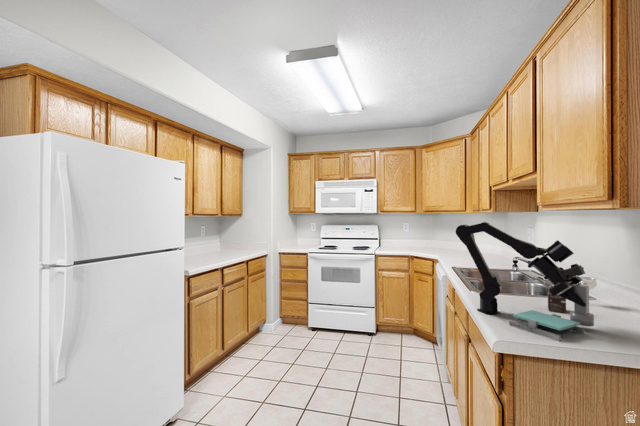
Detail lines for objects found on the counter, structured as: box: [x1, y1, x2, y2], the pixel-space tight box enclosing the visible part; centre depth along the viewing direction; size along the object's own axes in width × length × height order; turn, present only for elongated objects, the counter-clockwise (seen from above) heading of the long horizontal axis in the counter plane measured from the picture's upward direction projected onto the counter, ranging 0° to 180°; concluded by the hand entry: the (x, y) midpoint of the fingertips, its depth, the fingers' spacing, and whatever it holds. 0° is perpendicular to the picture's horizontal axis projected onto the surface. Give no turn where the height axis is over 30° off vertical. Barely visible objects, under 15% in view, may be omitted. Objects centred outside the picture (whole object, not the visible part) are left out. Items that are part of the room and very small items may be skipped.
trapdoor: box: [512, 309, 581, 331], centre depth 113 cm, size 16×12×2 cm
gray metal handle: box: [569, 284, 595, 327], centre depth 113 cm, size 7×7×14 cm
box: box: [547, 291, 567, 314], centre depth 135 cm, size 6×6×7 cm
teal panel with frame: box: [508, 313, 585, 342], centre depth 113 cm, size 17×15×4 cm
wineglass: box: [579, 276, 598, 307], centre depth 144 cm, size 7×7×12 cm
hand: (586, 305), depth 112 cm, fingers closed on gray metal handle, 3 cm apart
